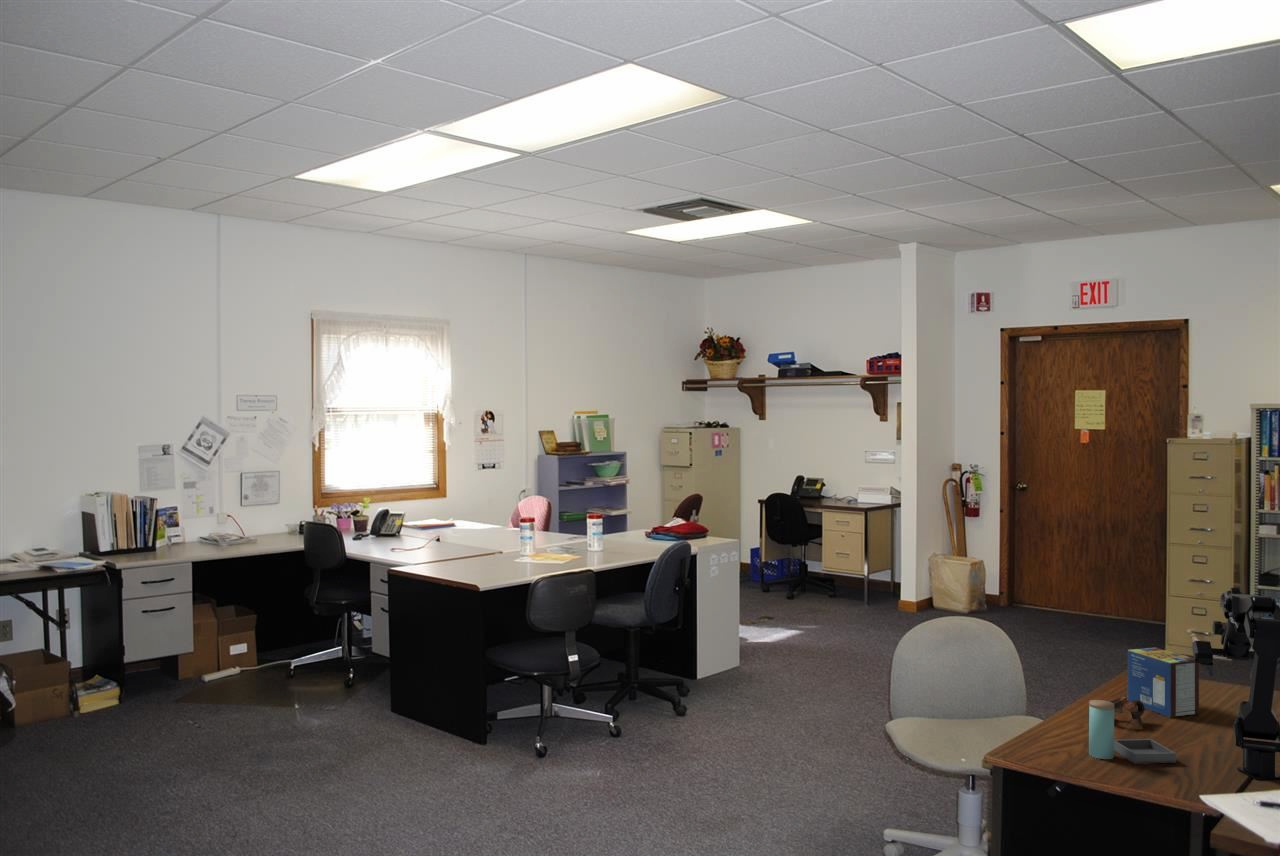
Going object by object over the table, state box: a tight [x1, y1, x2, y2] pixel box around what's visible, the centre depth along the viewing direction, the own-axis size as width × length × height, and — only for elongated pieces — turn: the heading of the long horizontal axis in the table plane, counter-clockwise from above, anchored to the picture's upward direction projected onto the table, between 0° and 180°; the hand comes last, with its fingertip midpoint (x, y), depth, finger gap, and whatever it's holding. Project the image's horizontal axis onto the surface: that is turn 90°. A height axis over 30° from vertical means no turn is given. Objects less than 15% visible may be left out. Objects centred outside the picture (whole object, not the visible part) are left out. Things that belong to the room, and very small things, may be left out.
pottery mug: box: [1109, 696, 1146, 730], centre depth 261 cm, size 12×10×8 cm
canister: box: [1088, 699, 1115, 759], centre depth 235 cm, size 6×6×13 cm
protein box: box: [1127, 646, 1200, 718], centre depth 274 cm, size 10×15×16 cm
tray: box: [1114, 738, 1177, 765], centre depth 235 cm, size 10×10×2 cm
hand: (1230, 677), depth 252 cm, fingers open, 9 cm apart
